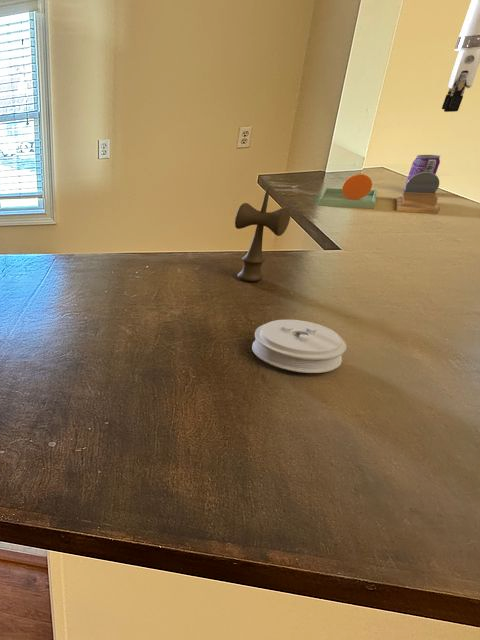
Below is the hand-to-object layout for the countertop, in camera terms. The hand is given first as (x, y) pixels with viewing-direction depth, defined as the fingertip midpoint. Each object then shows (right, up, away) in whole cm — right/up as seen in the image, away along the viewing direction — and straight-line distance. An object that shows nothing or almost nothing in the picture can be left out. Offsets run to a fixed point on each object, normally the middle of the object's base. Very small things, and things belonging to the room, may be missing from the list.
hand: (449, 110), depth 146 cm
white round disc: (-90, -77, -68) cm, 137 cm away
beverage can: (+7, -19, +20) cm, 28 cm away
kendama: (-82, -59, -38) cm, 107 cm away
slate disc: (-4, -22, +4) cm, 22 cm away
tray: (-19, -22, +17) cm, 34 cm away
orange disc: (-18, -19, +14) cm, 29 cm away
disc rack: (-6, -28, +5) cm, 29 cm away
